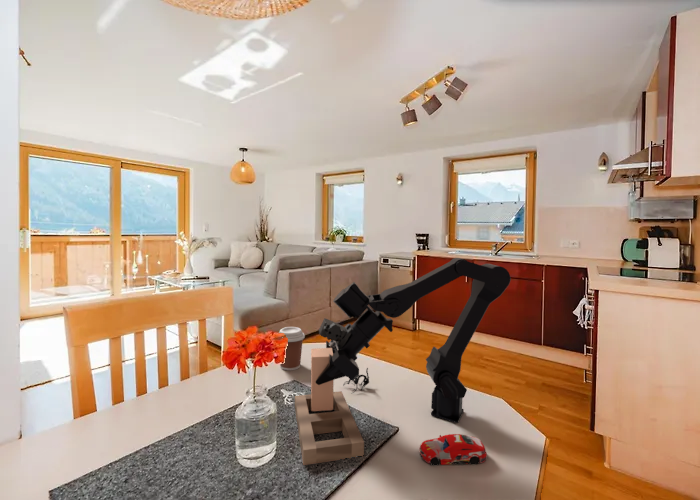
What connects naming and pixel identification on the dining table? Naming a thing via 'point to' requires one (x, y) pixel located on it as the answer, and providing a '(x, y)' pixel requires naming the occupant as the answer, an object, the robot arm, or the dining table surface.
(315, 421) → the puzzle board
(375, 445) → the dining table surface
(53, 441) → the dining table surface
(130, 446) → the dining table surface
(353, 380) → the creature
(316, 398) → the block
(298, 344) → the coffee cup
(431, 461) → the race car
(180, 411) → the dining table surface
